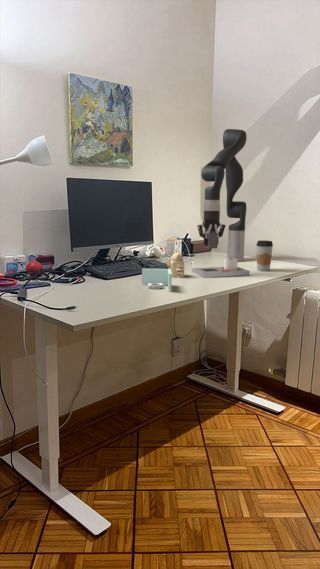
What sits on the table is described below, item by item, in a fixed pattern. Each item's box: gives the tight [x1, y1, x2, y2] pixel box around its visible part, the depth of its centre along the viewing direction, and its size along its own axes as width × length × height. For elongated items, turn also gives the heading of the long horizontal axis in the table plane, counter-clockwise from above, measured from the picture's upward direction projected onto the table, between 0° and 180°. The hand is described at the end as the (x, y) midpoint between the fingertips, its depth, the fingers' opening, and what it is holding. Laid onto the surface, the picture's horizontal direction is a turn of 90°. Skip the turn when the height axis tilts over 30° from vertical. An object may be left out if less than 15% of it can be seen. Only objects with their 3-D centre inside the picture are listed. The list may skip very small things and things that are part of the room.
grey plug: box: [204, 231, 219, 249], centre depth 219 cm, size 5×5×8 cm
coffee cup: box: [256, 239, 274, 272], centre depth 237 cm, size 8×8×15 cm
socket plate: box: [191, 266, 250, 279], centre depth 224 cm, size 14×24×3 cm, turn 109°
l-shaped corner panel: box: [141, 268, 173, 292], centre depth 190 cm, size 12×12×8 cm
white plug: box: [223, 256, 238, 270], centre depth 226 cm, size 5×5×8 cm
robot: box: [166, 245, 188, 279], centre depth 214 cm, size 10×8×15 cm
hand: (210, 246), depth 220 cm, fingers closed on grey plug, 4 cm apart
